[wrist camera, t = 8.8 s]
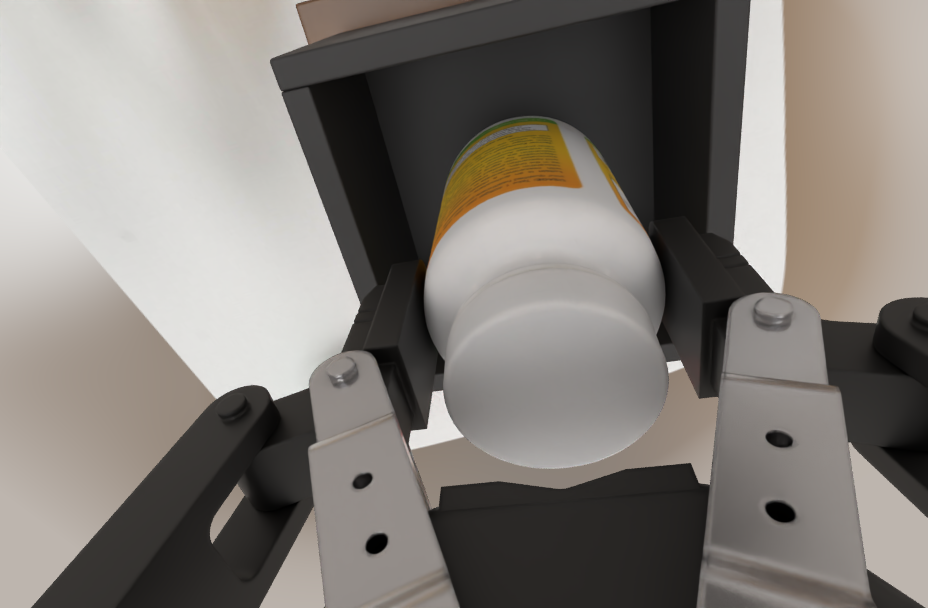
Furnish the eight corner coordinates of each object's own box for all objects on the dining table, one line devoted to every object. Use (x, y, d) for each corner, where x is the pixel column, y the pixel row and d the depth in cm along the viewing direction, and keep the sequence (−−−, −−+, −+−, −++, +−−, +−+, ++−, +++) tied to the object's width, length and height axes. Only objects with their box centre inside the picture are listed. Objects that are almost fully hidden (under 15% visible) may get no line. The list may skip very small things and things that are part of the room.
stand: (407, -13, 42) (294, 4, 18) (581, -57, 40) (707, -103, 16) (446, 156, 49) (401, 323, 26) (595, 126, 47) (696, 279, 23)
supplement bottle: (420, 228, 18) (359, 441, 10) (490, 80, 15) (485, 205, 7) (554, 288, 19) (597, 525, 11) (641, 159, 16) (787, 347, 8)
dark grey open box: (337, 33, 19) (267, 59, 13) (668, -48, 17) (756, -59, 11) (418, 299, 25) (395, 397, 19) (668, 260, 23) (726, 355, 17)
